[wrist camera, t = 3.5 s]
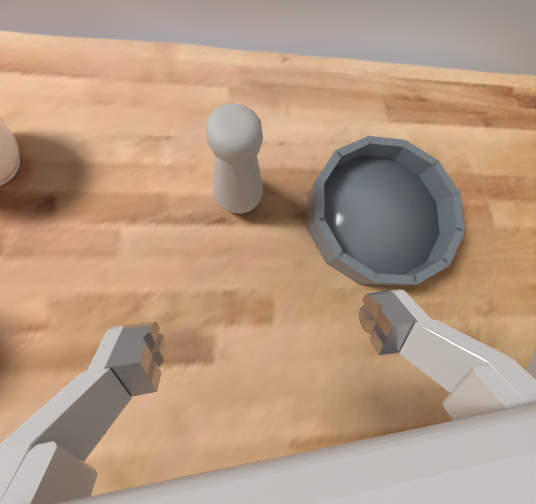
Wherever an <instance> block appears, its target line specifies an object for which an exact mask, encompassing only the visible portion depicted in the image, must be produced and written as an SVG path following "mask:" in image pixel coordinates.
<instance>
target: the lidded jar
mask: <svg viewBox="0 0 536 504" xmlns="http://www.w3.org/2000/svg"><path fill="white" fill-rule="evenodd" d="M20 161H21V160H20V155H19V148H18V144H17V141H16V138H15V136H14V134H13V133H12V131H11V129H10V128H9V126H8V125H7V124H6V123H5V122H4V121H3V120H2V118H1V117H0V186H1V185H3V184H5V183H7V182H8V181H10V180H11V179H12V178H13V177H14V176H15V175H16V173H17V172H18V170H19V168H20Z"/></svg>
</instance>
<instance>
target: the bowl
mask: <svg viewBox="0 0 536 504" xmlns="http://www.w3.org/2000/svg"><path fill="white" fill-rule="evenodd" d="M308 231H309V233H310V235H311V236H312V238H313V240H314V242H315V244H316V245H317V247H318V249H319V251H320V253H321V254H322V256H323V258H324V260H325V262H326V263H327V264H329V265H330V266H332V267H333V268H335V269H336V270H338V271H339V272H341V273H343V274H344V275H346V276H347V277H349V278H350V279H352V280H353V281H355V282H357V283H358V284H361V285H380V286H408V285H417V284H419V283H421V282H423V281H424V280H426V279H428V278H429V277H431V276H433V275H434V274H436V273H438V272H439V271H441V270H443V269H444V268H446V267H448V266H450V264H451V262H452V259H453V257H454V255H455V253H456V250H457V248H458V246H459V244H460V242H461V239H462V237H463V235H464V233H465V227H464V219H463V211H462V203H461V195H460V192H459V191H458V189H457V188H456V186H455V185H454V183H453V182H452V180H451V179H450V177H449V176H448V174H447V173H446V171H445V170H444V168H443V167H442V165H441V164H440V162H439V161H438V160H437V159H435V158H434V157H432V156H430V155H429V154H427V153H426V152H424V151H422V150H421V149H419V148H417V147H416V146H414V145H413V144H411V143H409V142H408V141H406V140H401V139H392V138H382V137H373V136H367V137H365V138H363V139H360V140H358V141H356V142H353V143H351V144H349V145H346V146H344V147H342V148H340V149H337V150H335V152H334V153H333V155H332V156H331V158H330V160H329V161H328V163H327V164H326V166H325V167H324V169H323V170H322V172H321V173H320V175H319V176H318V178H317V179H316V181H315V183H314V184H313V186H312V188H311V189H310V191H309V193H308Z"/></svg>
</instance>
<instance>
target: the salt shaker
mask: <svg viewBox="0 0 536 504" xmlns="http://www.w3.org/2000/svg"><path fill="white" fill-rule="evenodd" d="M206 133H207V141H208V144H209V146H210V148H211V149H212V151H213V153H214V154H215V165H214V176H213V193H214V197H215V199H216V201H217V202H218V204H219V205H220V207H222V208H223V209H225V210H227V211H229V212H230V213H238V214H243V213H246V212H249V211H252V210H253V209H254V208H255V207H256V206H257V205H258V204H259V203H260V200H261V197H262V195H263V186H262V180H261V175H260V170H259V165H258V160H257V154H258V152H259V150H260V147H261V144H262V140H263V134H262V127H261V121H260V119H259V118H258V116H257V115H256V114H255V112H254V111H252V110H251V109H249V108H247V107H246V106H244V105H239V104H232V103H231V104H227V105H223V106H219V107H218V108H217V109H216V110H214V111H213V112H212V113H211V114H210V116H209V118H208V120H207V123H206Z"/></svg>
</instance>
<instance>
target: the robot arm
mask: <svg viewBox="0 0 536 504" xmlns="http://www.w3.org/2000/svg"><path fill="white" fill-rule="evenodd" d="M362 301H363V302H364V305H363V306H362V307H361V308H360V311H359V320H360V323H361V326H362V328H363V329H364V331H365V332H367V333H368V334H370V335H371V337H370V341H371V343H372V345H373V346H374V348H375V350H376V351H377V353H378V355H384V354H392V353H399V352H400V353H399V354H400V355H402V356H403V357H404V358H406V359H407V360H408V361H409V362H411V363H412V364H413V365H415V366H416V367H417V368H418V369H420V370H421V371H422V372H424V373H425V374H426V375H427V376H429V377H430V378H431V379H433V380H434V381H435V382H436V383H438V384H439V385H440V386H442V387H443V388H444V389H445V390H447V391H448V392H449V393H450V394H449V395H448V396H447V397H446V399H445V400H444V401H443V407H444V408H445V410H446V411H447V413H448V414H449V416H450V417H451V419H452V420H453V421H450V422H445V423H440V424H436V425H431V426H426V427H421V428H416V429H411V430H407V431H402V432H397V433H392V434H387V435H383V436H378V437H373V438H368V439H363V440H358V441H354V442H349V443H344V444H339V445H334V446H330V447H325V448H320V449H315V450H310V451H305V452H301V453H296V454H291V455H286V456H281V457H277V458H272V459H267V460H262V461H257V462H252V463H248V464H243V465H238V466H233V467H228V468H224V469H219V470H214V471H209V472H204V473H199V474H195V475H190V476H185V477H180V478H175V479H171V480H166V481H161V482H156V483H151V484H146V485H142V486H137V487H132V488H127V489H122V490H117V491H113V492H108V493H103V494H98V495H93V496H91V493H92V490H93V487H94V484H95V481H96V478H97V471H96V469H94V468H93V467H91V466H90V465H88V464H87V463H85V462H84V461H85V459H86V458H87V457H88V455H89V454H90V453H91V451H92V450H93V449H94V447H95V446H96V445H97V443H98V442H99V441H100V439H101V438H102V437H103V435H104V434H105V433H106V431H107V430H108V429H109V427H110V426H111V425H112V423H113V422H114V421H115V419H116V418H117V417H118V415H119V414H120V413H121V411H122V410H123V409H124V408H125V406H126V405H127V404H128V402H129V401H130V400H131V397H132V396H137V395H142V394H147V393H153V392H157V390H158V385H159V381H160V377H161V371H160V369H159V366H160V365H161V364H162V363H163V362H164V359H165V354H166V344H165V339H164V337H163V335H161V334H159V333H158V332H159V329H160V328H159V326H158V324H157V322H150V323H141V324H131V325H124V326H115V327H111V328H109V329H108V330H107V332H106V334H105V336H104V338H103V340H102V342H101V344H100V346H99V348H98V350H97V352H96V354H95V356H94V358H93V360H92V362H91V364H90V366H89V368H88V370H87V371H86V372H82V373H80V374H79V375H78V376H77V377H76V378H75V379H74V380H72V381H71V382H70V383H69V384H68V385H67V386H66V387H64V388H63V389H62V390H61V391H60V392H59V393H58V394H56V395H55V396H54V397H53V398H52V399H51V400H50V401H48V402H47V403H46V404H45V405H44V406H43V407H42V408H40V409H39V410H38V411H37V412H36V413H35V414H34V415H33V416H31V417H30V418H29V419H28V420H27V421H26V422H25V423H23V424H22V425H21V426H20V427H19V428H18V429H17V430H15V431H14V432H13V433H12V434H11V435H10V436H9V437H7V438H6V439H5V440H4V441H3V442H2V443H1V444H0V504H536V380H535V379H534V378H533V377H532V376H531V375H530V374H529V373H528V372H527V371H526V370H524V369H523V368H522V367H521V366H520V365H519V364H518V363H517V362H516V361H515V360H514V359H513V358H511V357H509V356H507V355H505V354H503V353H501V352H499V351H497V350H495V349H493V348H491V347H489V346H487V345H485V344H483V343H481V342H479V341H477V340H475V339H473V338H471V337H469V336H467V335H465V334H463V333H461V332H459V331H457V330H455V329H453V328H451V327H449V326H447V325H445V324H443V323H441V322H439V321H438V320H436V319H434V320H431V319H430V317H429V316H428V315H427V314H426V313H425V312H424V311H423V310H422V309H421V308H420V307H419V306H418V304H417V303H416V302H415V301H414V300H413V299H412V298H411V297H410V296H409V295H408V294H407V293H406V292H405V291H404V290H402V289H399V290H391V291H383V292H376V293H369V294H366V295H365V296H364V297H363V300H362Z"/></svg>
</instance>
